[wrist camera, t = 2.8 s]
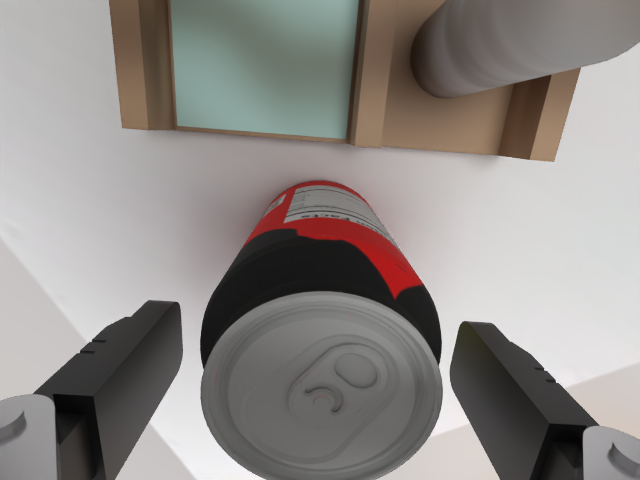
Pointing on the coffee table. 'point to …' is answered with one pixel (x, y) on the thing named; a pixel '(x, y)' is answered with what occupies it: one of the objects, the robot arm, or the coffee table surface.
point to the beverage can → (321, 344)
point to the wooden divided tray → (366, 69)
